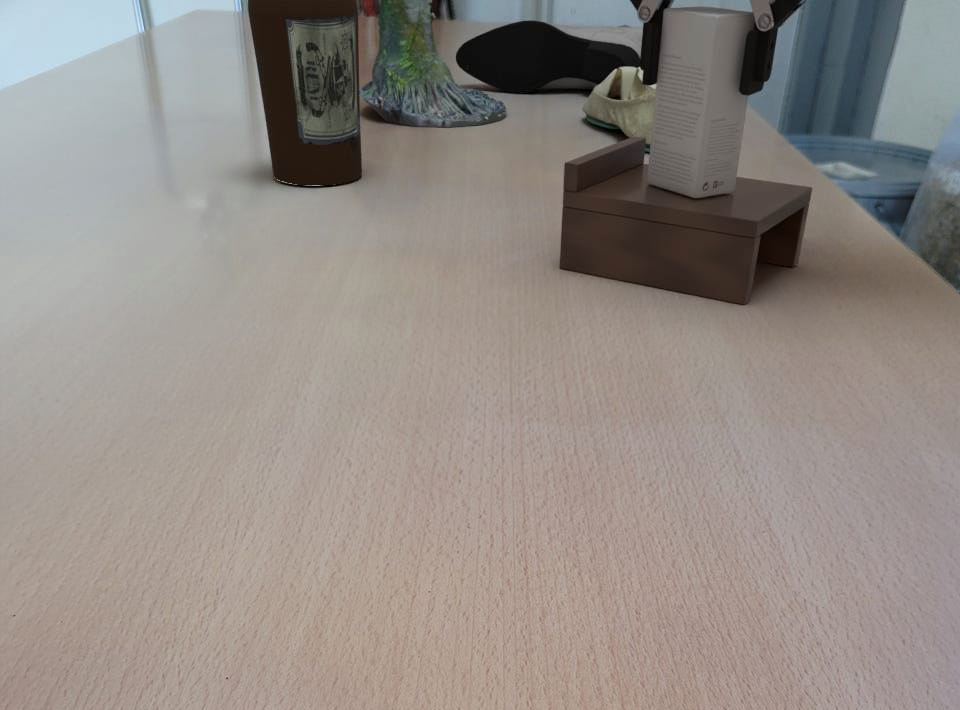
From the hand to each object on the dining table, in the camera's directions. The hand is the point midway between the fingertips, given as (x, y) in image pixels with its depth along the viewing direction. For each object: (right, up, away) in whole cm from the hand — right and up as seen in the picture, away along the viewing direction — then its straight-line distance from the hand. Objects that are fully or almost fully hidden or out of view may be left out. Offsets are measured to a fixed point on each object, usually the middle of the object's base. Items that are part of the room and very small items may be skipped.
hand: (702, 85), depth 74 cm
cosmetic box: (0, -6, +4) cm, 7 cm away
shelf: (0, -11, +8) cm, 13 cm away
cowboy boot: (-3, +46, +82) cm, 94 cm away
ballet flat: (+3, +22, +51) cm, 55 cm away
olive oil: (-34, +8, +32) cm, 48 cm away
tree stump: (-23, +30, +61) cm, 72 cm away
